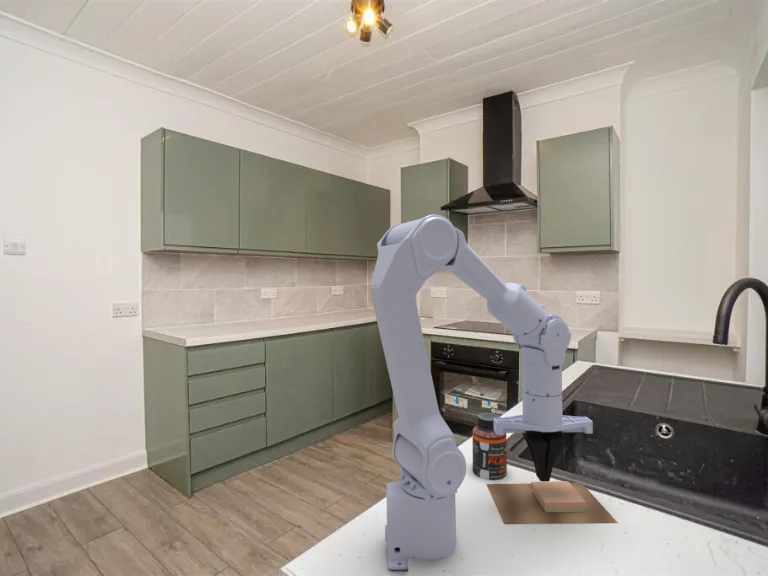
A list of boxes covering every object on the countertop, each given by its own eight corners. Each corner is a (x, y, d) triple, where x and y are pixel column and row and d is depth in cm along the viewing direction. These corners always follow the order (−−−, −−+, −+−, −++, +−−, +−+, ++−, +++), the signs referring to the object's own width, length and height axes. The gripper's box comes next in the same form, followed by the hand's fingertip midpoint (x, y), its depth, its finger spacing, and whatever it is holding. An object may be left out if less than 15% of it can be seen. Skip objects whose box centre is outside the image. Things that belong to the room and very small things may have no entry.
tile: (544, 502, 60) (585, 502, 60) (531, 481, 66) (568, 481, 66) (545, 513, 60) (585, 512, 60) (531, 491, 66) (568, 491, 66)
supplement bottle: (490, 490, 69) (490, 424, 68) (465, 476, 74) (464, 415, 73) (514, 480, 72) (513, 417, 72) (488, 467, 77) (487, 408, 77)
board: (504, 532, 58) (504, 523, 58) (486, 490, 69) (486, 483, 69) (618, 531, 57) (618, 522, 57) (581, 489, 68) (581, 482, 68)
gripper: (577, 383, 66) (578, 465, 67) (488, 385, 67) (489, 466, 67) (599, 396, 59) (600, 488, 60) (499, 398, 60) (501, 489, 60)
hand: (542, 478), depth 63 cm, fingers closed
